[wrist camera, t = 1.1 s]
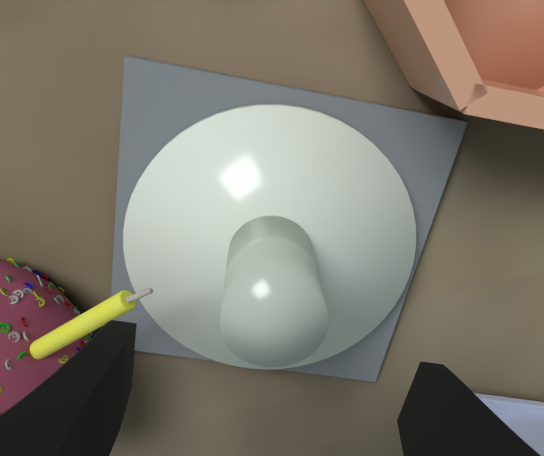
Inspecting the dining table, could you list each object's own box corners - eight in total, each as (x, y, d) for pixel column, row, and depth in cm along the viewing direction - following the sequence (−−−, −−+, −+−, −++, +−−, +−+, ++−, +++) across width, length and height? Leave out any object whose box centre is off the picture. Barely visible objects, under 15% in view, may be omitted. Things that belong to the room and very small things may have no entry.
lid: (449, 133, 17) (523, 179, 12) (367, 371, 21) (398, 473, 17) (139, 74, 16) (88, 100, 11) (120, 338, 20) (77, 437, 16)
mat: (463, 120, 17) (467, 122, 17) (373, 376, 22) (375, 382, 22) (127, 55, 16) (124, 56, 16) (110, 341, 21) (107, 347, 20)
